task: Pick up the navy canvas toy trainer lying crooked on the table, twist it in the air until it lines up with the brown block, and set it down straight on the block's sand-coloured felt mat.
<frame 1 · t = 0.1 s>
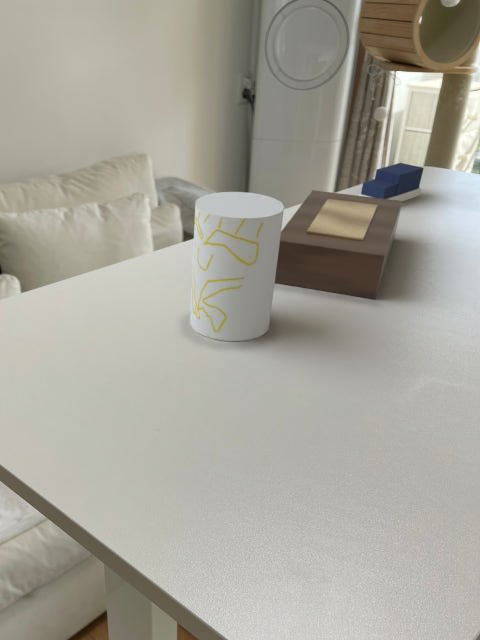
cup: (229, 324, 67), on the table
brown block: (336, 258, 82), on the table
trainer: (389, 198, 104), on the table
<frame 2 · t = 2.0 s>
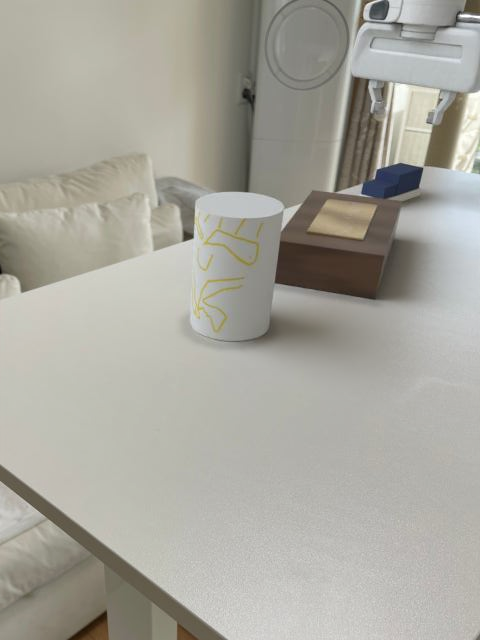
hand: (404, 118, 97), 12 cm above the table, tool pointing down, fingers open, 8 cm apart
nothing on the table moved.
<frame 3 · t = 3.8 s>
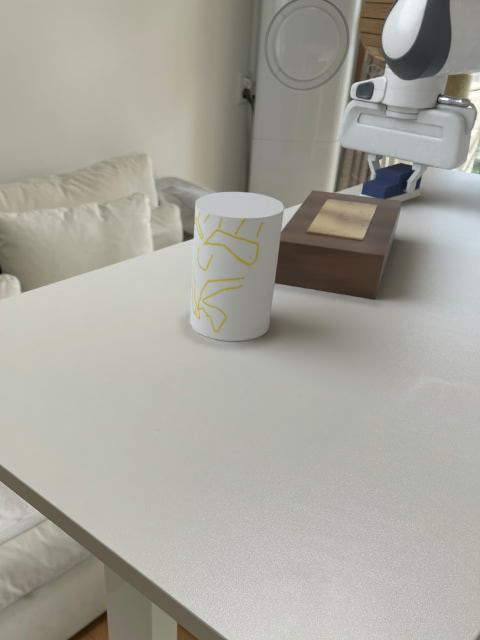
hand: (391, 187, 103), 2 cm above the table, tool pointing down, fingers closed on trainer, 4 cm apart
trainer: (389, 198, 104), on the table, touching gripper
everything else where it was.
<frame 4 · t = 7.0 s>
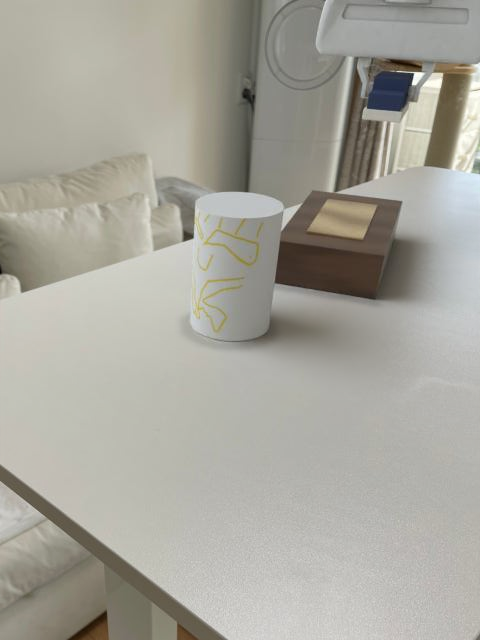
hand: (388, 99, 83), 16 cm above the table, tool pointing down, fingers closed on trainer, 4 cm apart
trainer: (385, 114, 84), point 15 cm above the table, touching gripper
everything else where it was.
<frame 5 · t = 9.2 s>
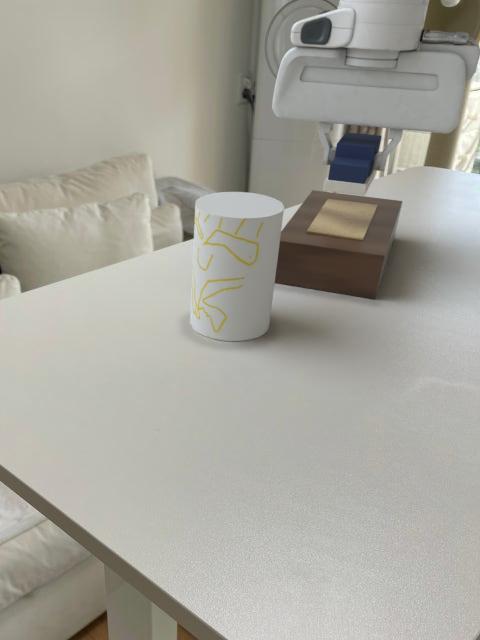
hand: (353, 166, 76), 11 cm above the table, tool pointing down, fingers closed on trainer, 4 cm apart
trainer: (350, 181, 76), point 9 cm above the table, touching gripper
everything else where it was.
when the fingers open (7 cm above the table, at t = 10.6 s): trainer stays where it is, resting on brown block.
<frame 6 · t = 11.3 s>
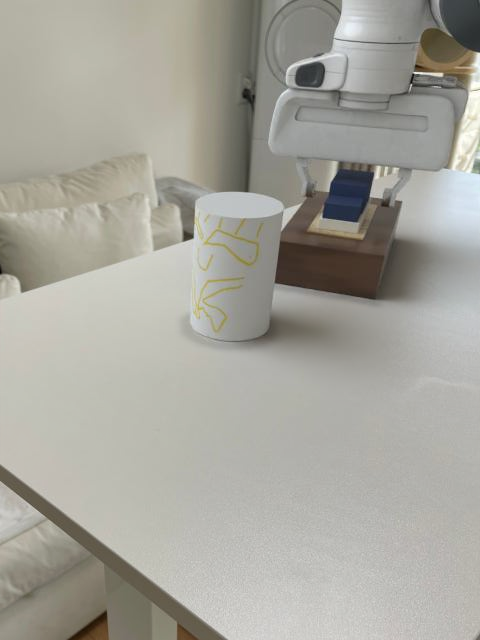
hand: (347, 201, 78), 7 cm above the table, tool pointing down, fingers open, 8 cm apart
trainer: (344, 217, 79), point 5 cm above the table, touching brown block
everything else where it was.
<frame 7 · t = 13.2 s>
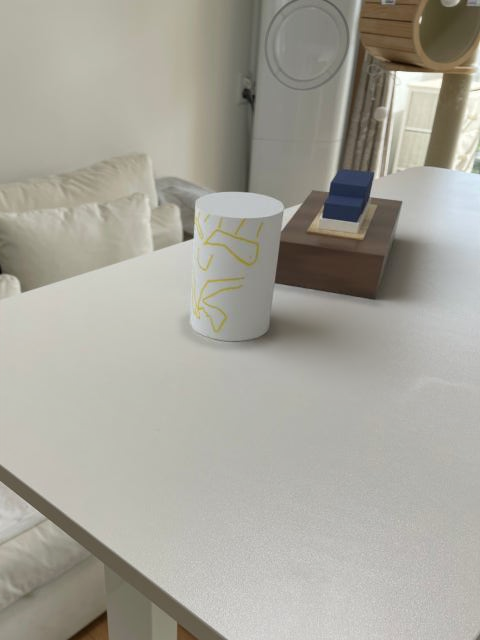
hand: (429, 5, 76), 27 cm above the table, tool pointing down, fingers open, 8 cm apart
nothing on the table moved.
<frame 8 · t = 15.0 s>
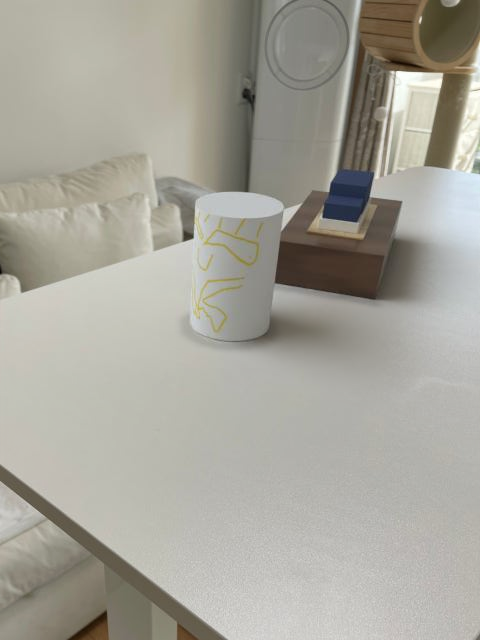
nothing on the table moved.
at the end: trainer 0.1 cm off-centre on the brown block, point 5.2 cm above the brown block's base; trainer tilted 0°; the gripper is holding nothing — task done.
